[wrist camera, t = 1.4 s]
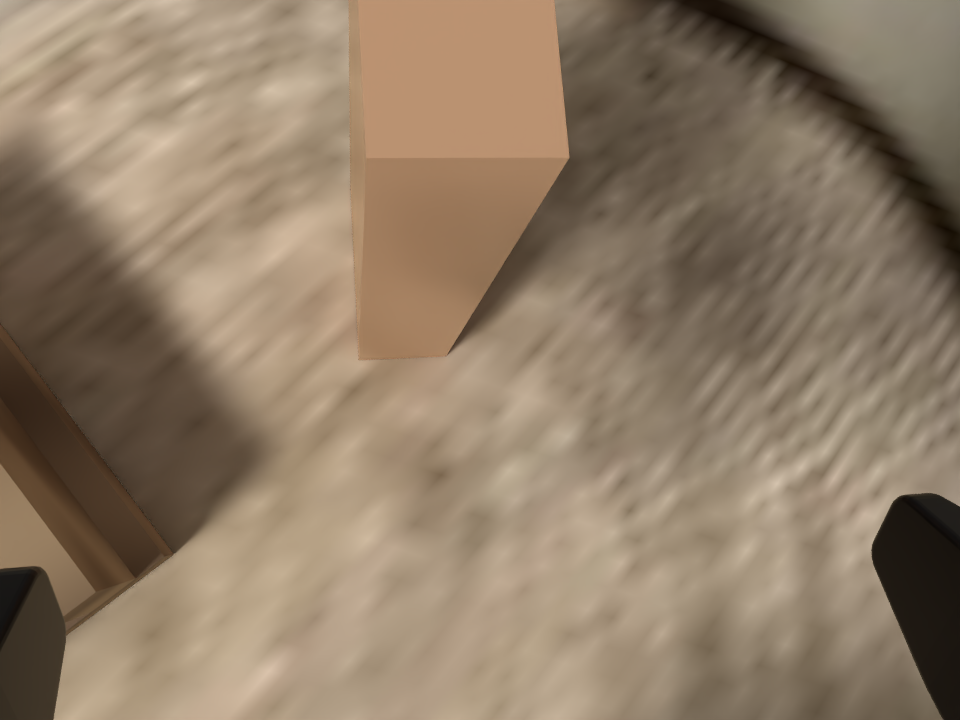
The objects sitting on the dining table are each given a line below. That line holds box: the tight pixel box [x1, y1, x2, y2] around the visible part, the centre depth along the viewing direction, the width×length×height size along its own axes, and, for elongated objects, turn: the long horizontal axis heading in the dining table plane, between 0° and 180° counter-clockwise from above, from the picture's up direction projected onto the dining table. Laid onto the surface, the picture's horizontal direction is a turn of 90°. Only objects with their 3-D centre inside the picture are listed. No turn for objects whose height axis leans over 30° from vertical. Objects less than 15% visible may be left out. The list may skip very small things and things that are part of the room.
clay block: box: [349, 0, 569, 360], centre depth 16 cm, size 5×2×13 cm, turn 4°
